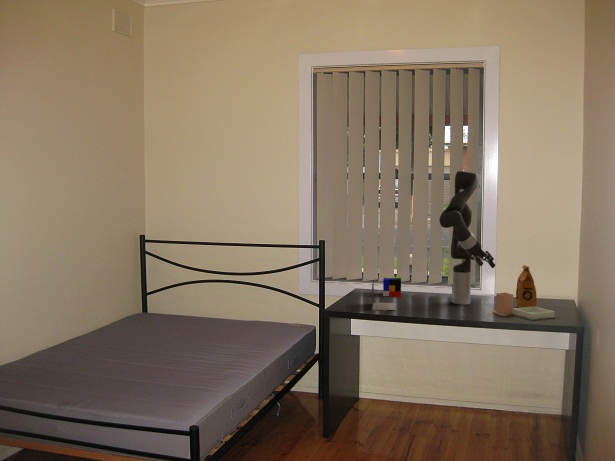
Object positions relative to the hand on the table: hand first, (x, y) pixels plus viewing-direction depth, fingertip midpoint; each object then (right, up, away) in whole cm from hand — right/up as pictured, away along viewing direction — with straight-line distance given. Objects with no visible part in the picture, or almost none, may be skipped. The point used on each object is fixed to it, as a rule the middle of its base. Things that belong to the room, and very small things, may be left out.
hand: (487, 265), depth 310 cm
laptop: (-48, -24, +25) cm, 59 cm away
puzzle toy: (-39, -21, +58) cm, 73 cm away
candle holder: (+10, -24, +6) cm, 27 cm away
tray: (+22, -25, +1) cm, 33 cm away
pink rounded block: (+10, -23, +6) cm, 26 cm away
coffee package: (+25, -23, +19) cm, 39 cm away
